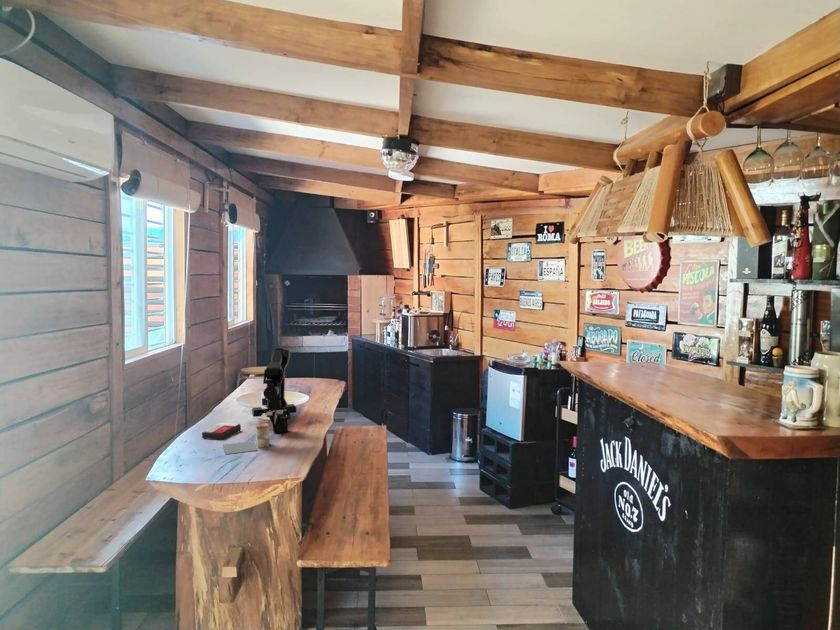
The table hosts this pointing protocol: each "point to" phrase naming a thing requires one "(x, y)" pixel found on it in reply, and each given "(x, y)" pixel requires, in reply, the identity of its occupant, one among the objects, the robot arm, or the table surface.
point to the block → (262, 435)
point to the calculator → (221, 430)
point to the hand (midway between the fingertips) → (274, 429)
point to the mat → (239, 447)
